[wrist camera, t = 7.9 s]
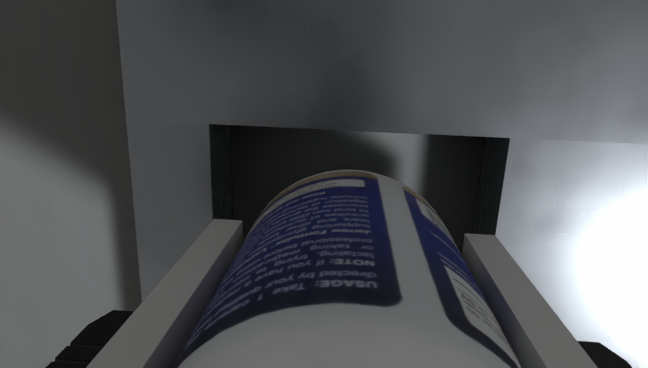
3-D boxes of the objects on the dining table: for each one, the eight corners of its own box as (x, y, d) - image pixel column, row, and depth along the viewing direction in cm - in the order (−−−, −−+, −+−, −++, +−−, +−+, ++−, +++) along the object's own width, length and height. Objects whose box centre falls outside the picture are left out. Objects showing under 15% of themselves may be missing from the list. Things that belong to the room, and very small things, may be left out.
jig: (148, -42, 12) (16, -104, 8) (754, -26, 11) (1041, -85, 7) (185, 506, 18) (123, 671, 13) (595, 545, 17) (690, 737, 12)
